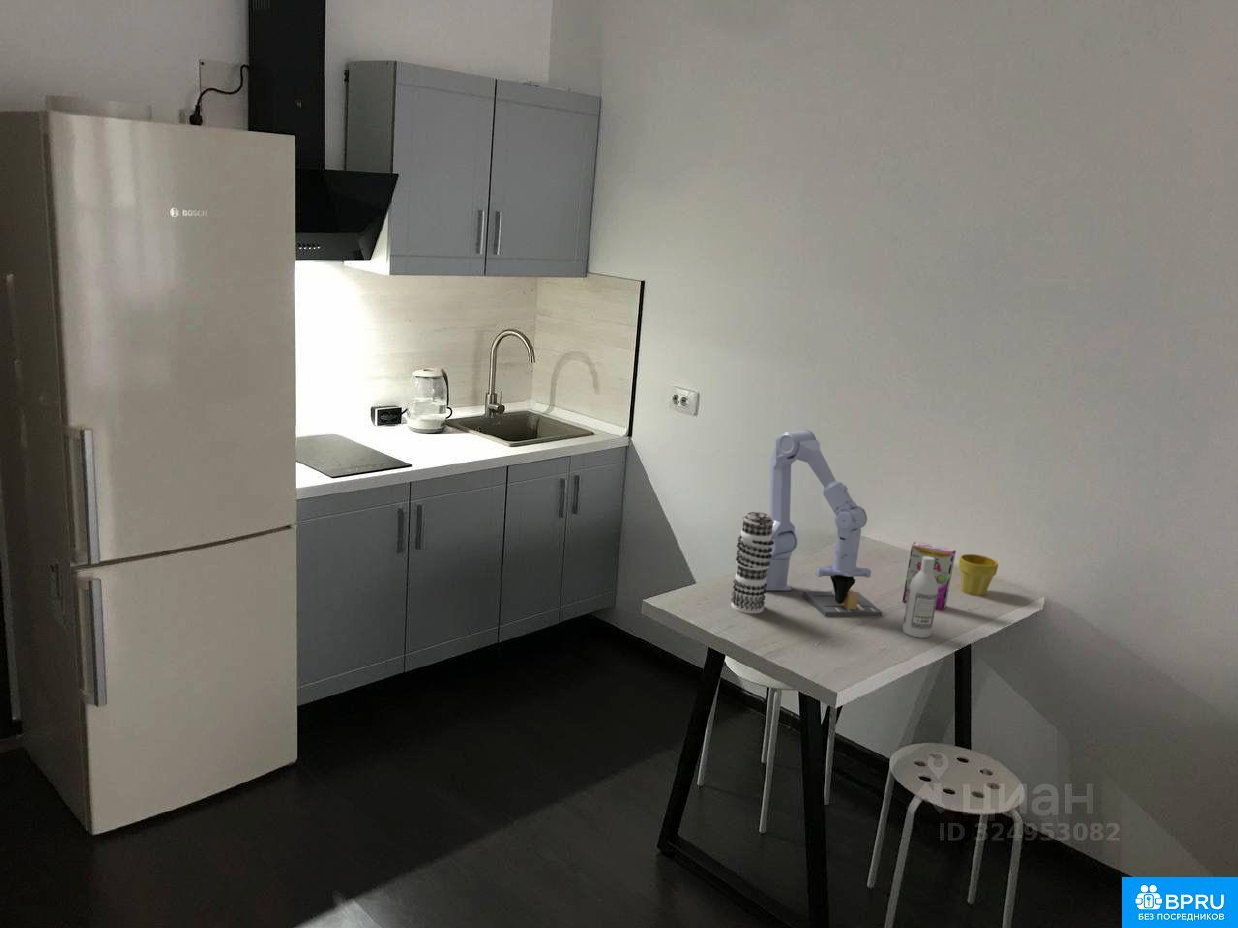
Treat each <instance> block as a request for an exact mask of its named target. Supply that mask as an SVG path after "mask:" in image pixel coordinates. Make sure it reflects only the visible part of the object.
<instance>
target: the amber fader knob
mask: <svg viewBox="0 0 1238 928" xmlns="http://www.w3.org/2000/svg"><path fill="white" fill-rule="evenodd" d="M855 592H856V591H854V589H852V588H850V590H849V591H848V593H847V595H846V597H845V599H844V602H843V604H842V605H843V606H844V607H845V608H846V609H856V607H857V601H858V594H857V593H855Z"/></svg>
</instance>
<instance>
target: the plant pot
mask: <svg viewBox="0 0 1238 928" xmlns="http://www.w3.org/2000/svg"><path fill="white" fill-rule="evenodd" d="M998 567H999V563H998V560H996V559H994V558H992V557H988V556H986V555H983V554H982V555H981V554H973V553H966V554H965V553H964V554H962V555H960V557H959V562H958V569H959V570H960V581H961V582H960V583H961V585H960V586H961V587H960V589H961V591H962V592H963V593H965V594H967V595H970V596H976V597H977V596H978V597H981V596H984V595H986V594H987V591H988V590H989V589H988V588H989V586H990V585H991V583H992V580H993V578H994V576H996V575H997V571H998V569H999V568H998Z"/></svg>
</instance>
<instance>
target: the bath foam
mask: <svg viewBox="0 0 1238 928" xmlns="http://www.w3.org/2000/svg"><path fill="white" fill-rule="evenodd" d="M934 561H935V559H934V558H933V557H930V556H923V558H922V564H921V570H920V571H919V572H918V573H917V574H916V575H915V577H914V578H913V579H912V581H911V583H910V586H909V591H908V598H907V602H906V605H905V611H904V616H903V623H902V624H903V625H902V631H903V632H904V634H906V635H907V634H908V636H910V637H914V638H917V637H918V639H926V638H929V637H930V636H931V634H932V628H933V624H934V619H935V612H936V609H935V607H936V601H937V595H938V584H937V581H936V579H935V577H934V575H933V567H934Z"/></svg>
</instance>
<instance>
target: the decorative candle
mask: <svg viewBox="0 0 1238 928" xmlns="http://www.w3.org/2000/svg"><path fill="white" fill-rule="evenodd" d="M741 519H742V526H741V527H742V528H741V530H740V535H739V536H738V537H737V545H736V547H737V548H738V550H737V551H736V557H735V561H736V562H735V563H736V564H737V567H736V568H737V571H736V573H735V578H734V580H733V586H732V588H733V591H732V592H731V595H732V597H731V604H730V606H731V608H732V609H734V610H735V611H738V612H740V613H745V614H760V613H762V612H764V609H765V607H764V606H765V603H766V602H765V600H766V595H765V594H766V593H767V590H766V589H765V588H766V587H767V584H766V579H767V577H766V573H767V568H769V565H770V562H769V561H768V559H769V558H771V554H770V552H772V549H771V548H770V547H769V546H770V545H773V544H774V542H773V541H772V540H771V539H773V538H774V537H772V527H773V524H774V521H773V520H771V518H770V514H768V513H767V514H766V513H765V512H758V511H751V512H748V513H747V514H746V516H744V517H743V516H742V518H741Z"/></svg>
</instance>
